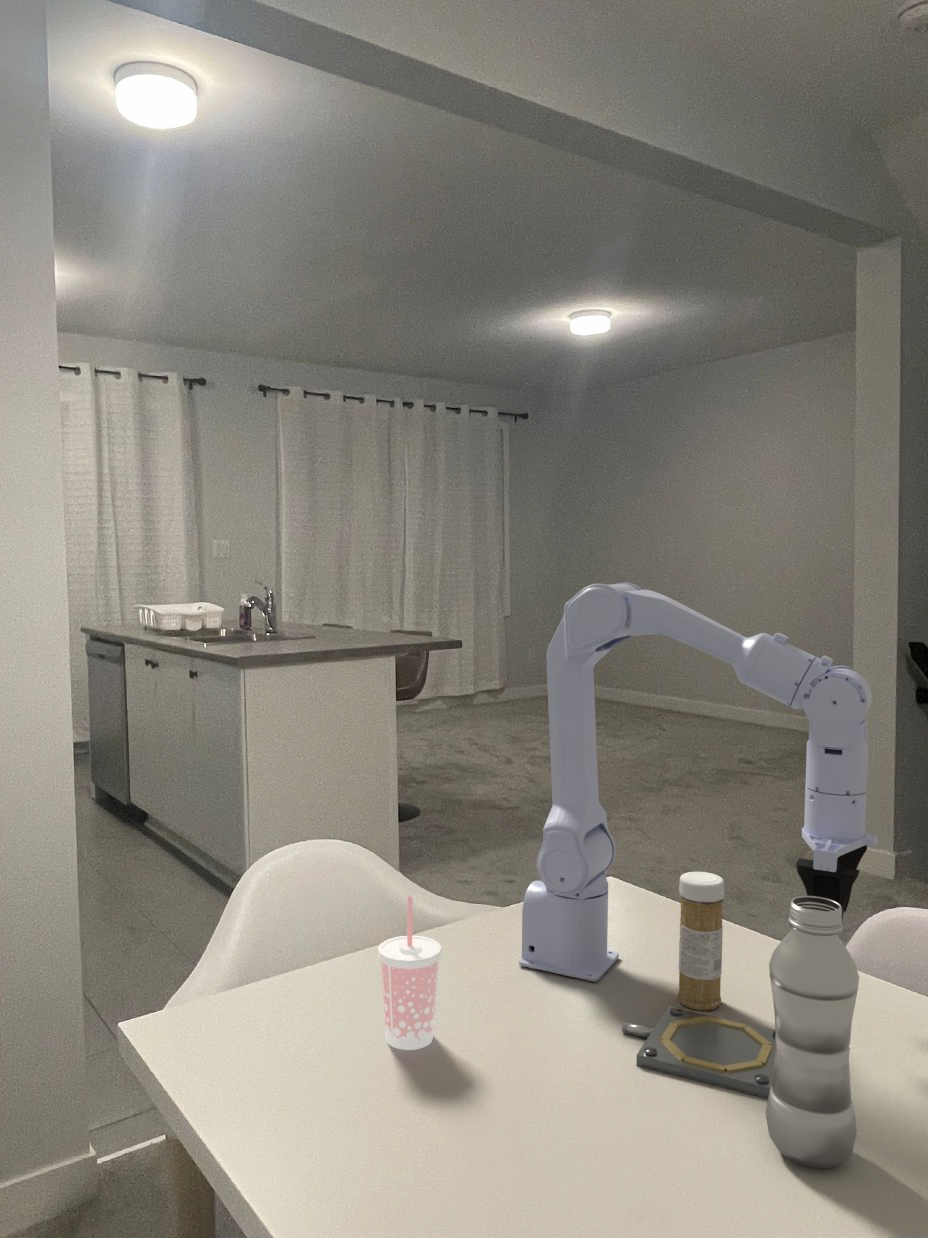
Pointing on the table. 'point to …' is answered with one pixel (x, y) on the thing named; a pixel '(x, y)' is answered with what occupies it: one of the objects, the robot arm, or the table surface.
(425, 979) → the beverage cup
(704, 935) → the sprinkles bottle
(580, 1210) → the table surface
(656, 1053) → the octagon fixture plate
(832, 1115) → the plastic bottle
